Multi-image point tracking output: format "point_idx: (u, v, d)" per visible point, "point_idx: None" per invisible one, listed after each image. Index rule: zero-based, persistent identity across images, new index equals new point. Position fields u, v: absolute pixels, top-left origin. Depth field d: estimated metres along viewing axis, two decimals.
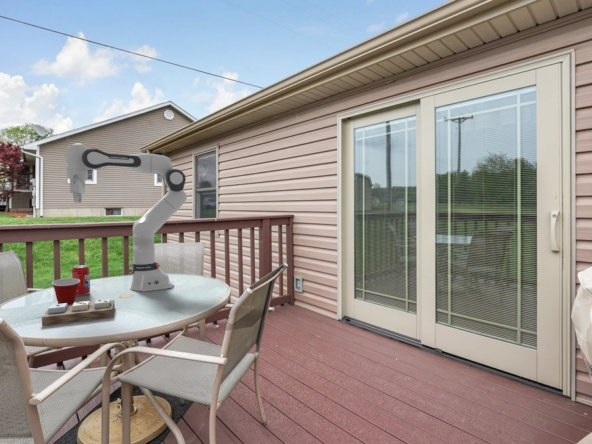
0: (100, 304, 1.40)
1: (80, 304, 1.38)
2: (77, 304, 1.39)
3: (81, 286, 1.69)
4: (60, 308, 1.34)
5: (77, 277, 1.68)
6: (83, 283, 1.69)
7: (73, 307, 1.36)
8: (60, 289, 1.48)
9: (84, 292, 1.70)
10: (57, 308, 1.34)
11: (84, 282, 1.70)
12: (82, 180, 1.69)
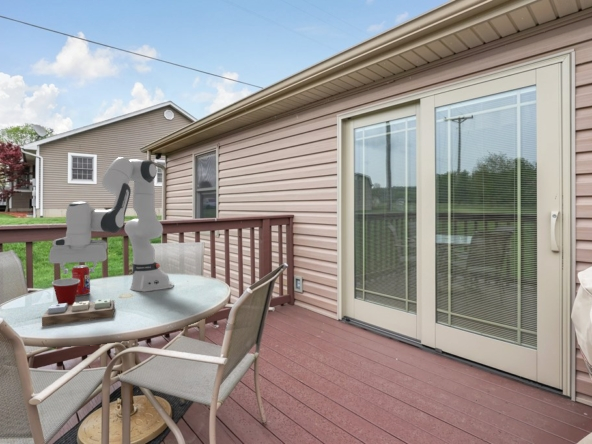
0: (100, 304, 1.40)
1: (80, 304, 1.38)
2: (77, 304, 1.39)
3: (81, 286, 1.69)
4: (60, 308, 1.34)
5: (77, 277, 1.68)
6: (83, 283, 1.69)
7: (73, 307, 1.36)
8: (60, 289, 1.48)
9: (84, 292, 1.70)
10: (57, 308, 1.34)
11: (84, 282, 1.70)
12: None
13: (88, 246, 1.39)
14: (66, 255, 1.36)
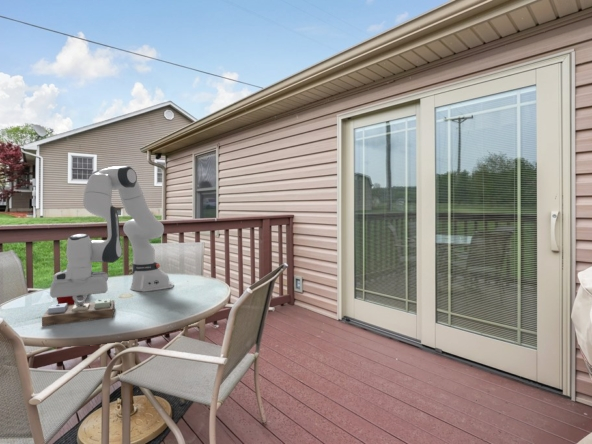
0: (100, 304, 1.40)
1: (80, 307, 1.38)
2: (77, 306, 1.39)
3: None
4: (60, 308, 1.34)
5: None
6: None
7: (73, 310, 1.36)
8: None
9: None
10: (57, 308, 1.34)
11: None
12: None
13: (89, 279, 1.39)
14: (67, 288, 1.36)
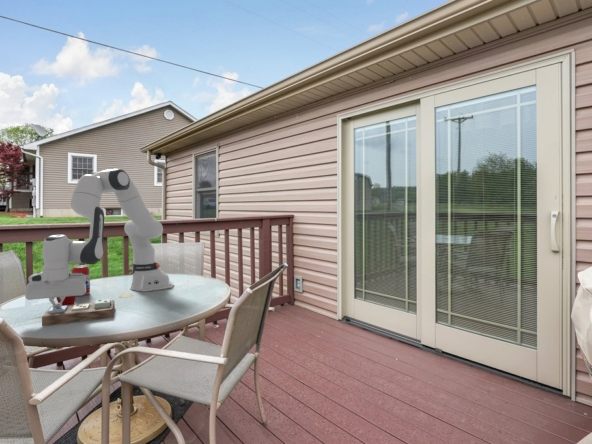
0: (100, 304, 1.40)
1: (80, 307, 1.38)
2: (77, 307, 1.39)
3: None
4: (60, 310, 1.34)
5: None
6: None
7: (73, 310, 1.36)
8: None
9: None
10: (57, 310, 1.34)
11: None
12: None
13: (66, 280, 1.35)
14: (43, 290, 1.32)
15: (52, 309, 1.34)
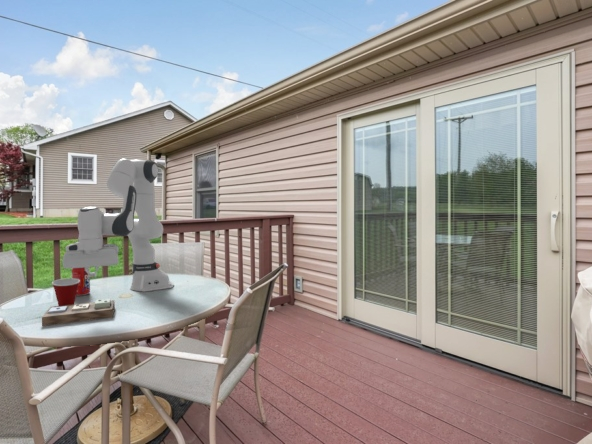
0: (100, 304, 1.40)
1: (80, 307, 1.38)
2: (77, 307, 1.39)
3: (81, 286, 1.69)
4: (60, 311, 1.34)
5: (77, 277, 1.68)
6: (83, 283, 1.69)
7: (73, 310, 1.36)
8: (60, 289, 1.48)
9: (84, 292, 1.70)
10: (57, 311, 1.34)
11: (84, 282, 1.70)
12: None
13: (100, 250, 1.40)
14: (79, 260, 1.37)
15: (52, 310, 1.34)
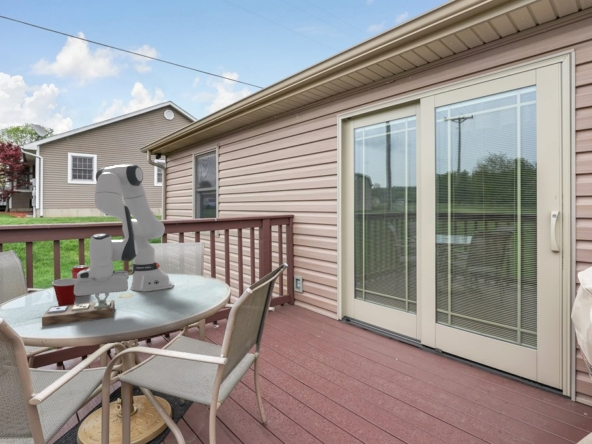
0: (100, 307, 1.40)
1: (80, 307, 1.38)
2: (77, 307, 1.39)
3: None
4: (60, 311, 1.34)
5: None
6: None
7: (73, 310, 1.36)
8: (60, 289, 1.48)
9: None
10: (57, 311, 1.34)
11: None
12: None
13: (111, 277, 1.42)
14: (90, 287, 1.39)
15: (52, 310, 1.34)
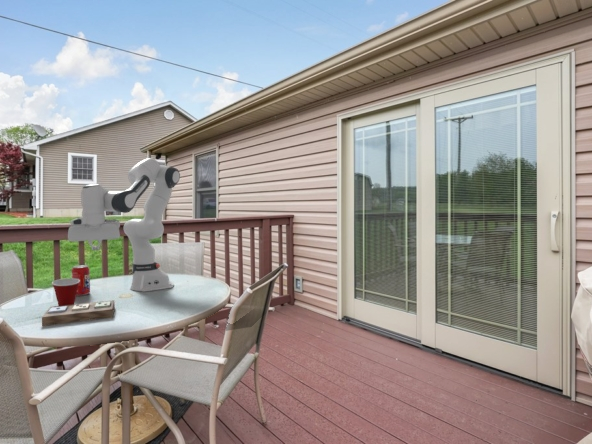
0: (100, 307, 1.40)
1: (80, 307, 1.38)
2: (77, 307, 1.39)
3: (81, 286, 1.69)
4: (60, 311, 1.34)
5: (77, 277, 1.68)
6: (83, 283, 1.69)
7: (73, 310, 1.36)
8: (60, 289, 1.48)
9: (84, 292, 1.70)
10: (57, 311, 1.34)
11: (84, 282, 1.70)
12: None
13: (103, 225, 1.50)
14: (83, 233, 1.47)
15: (52, 310, 1.34)
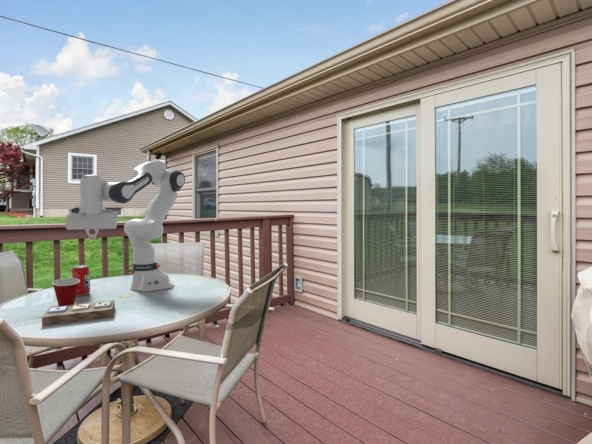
0: (100, 307, 1.40)
1: (80, 307, 1.38)
2: (77, 307, 1.39)
3: (81, 286, 1.69)
4: (60, 311, 1.34)
5: (77, 277, 1.68)
6: (83, 283, 1.69)
7: (73, 310, 1.36)
8: (60, 289, 1.48)
9: (84, 292, 1.70)
10: (57, 311, 1.34)
11: (84, 282, 1.70)
12: None
13: (100, 214, 1.53)
14: (80, 222, 1.50)
15: (52, 310, 1.34)
